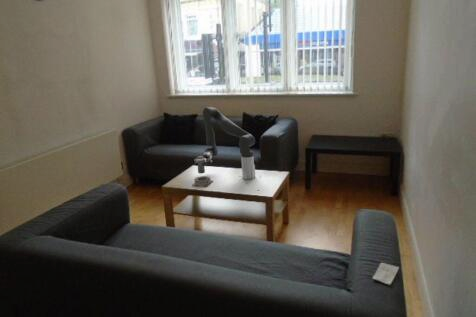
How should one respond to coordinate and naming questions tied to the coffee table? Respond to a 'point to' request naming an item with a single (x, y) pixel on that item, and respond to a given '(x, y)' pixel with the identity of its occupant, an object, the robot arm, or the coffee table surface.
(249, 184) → the coffee table surface
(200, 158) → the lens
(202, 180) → the mount
